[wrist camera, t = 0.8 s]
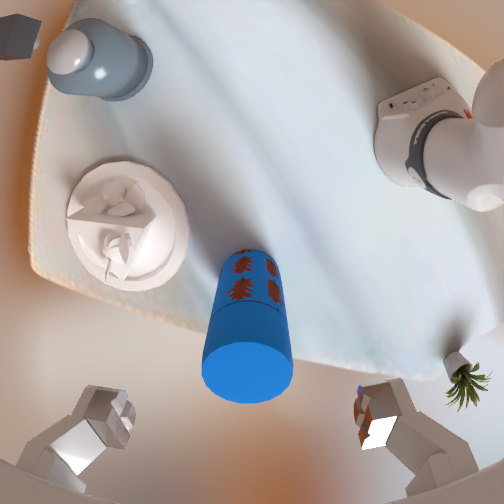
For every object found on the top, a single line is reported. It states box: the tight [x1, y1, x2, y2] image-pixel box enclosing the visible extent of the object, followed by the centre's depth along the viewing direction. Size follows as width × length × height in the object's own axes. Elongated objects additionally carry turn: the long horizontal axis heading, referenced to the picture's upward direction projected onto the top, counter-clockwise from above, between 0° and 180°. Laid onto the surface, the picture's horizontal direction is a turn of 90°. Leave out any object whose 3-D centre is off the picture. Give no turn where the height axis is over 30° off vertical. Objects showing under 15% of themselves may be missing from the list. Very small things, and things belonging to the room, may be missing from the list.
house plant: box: [444, 351, 490, 411], centre depth 58 cm, size 14×14×16 cm
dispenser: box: [47, 18, 153, 101], centre depth 34 cm, size 12×12×18 cm
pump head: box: [0, 14, 42, 60], centre depth 17 cm, size 8×4×6 cm, turn 75°
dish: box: [65, 161, 190, 291], centre depth 49 cm, size 25×25×11 cm
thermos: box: [202, 250, 293, 403], centre depth 45 cm, size 11×11×25 cm
